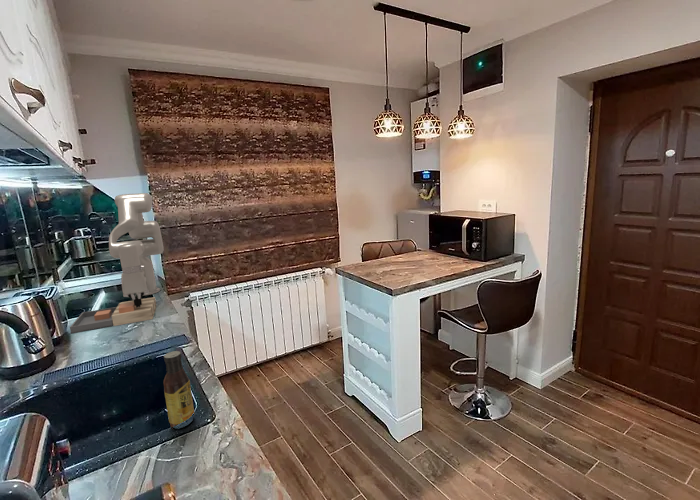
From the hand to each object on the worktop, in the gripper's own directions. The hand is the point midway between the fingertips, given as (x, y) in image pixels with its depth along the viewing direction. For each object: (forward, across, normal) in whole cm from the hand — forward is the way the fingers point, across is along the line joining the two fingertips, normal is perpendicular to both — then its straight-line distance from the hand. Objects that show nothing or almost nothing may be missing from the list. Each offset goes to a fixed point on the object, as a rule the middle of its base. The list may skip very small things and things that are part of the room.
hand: (138, 306), depth 174 cm
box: (+6, +19, -5) cm, 20 cm away
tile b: (+1, +5, 0) cm, 5 cm away
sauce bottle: (+6, -20, +95) cm, 97 cm away
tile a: (+3, +17, -10) cm, 20 cm away
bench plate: (+6, +2, -5) cm, 8 cm away
